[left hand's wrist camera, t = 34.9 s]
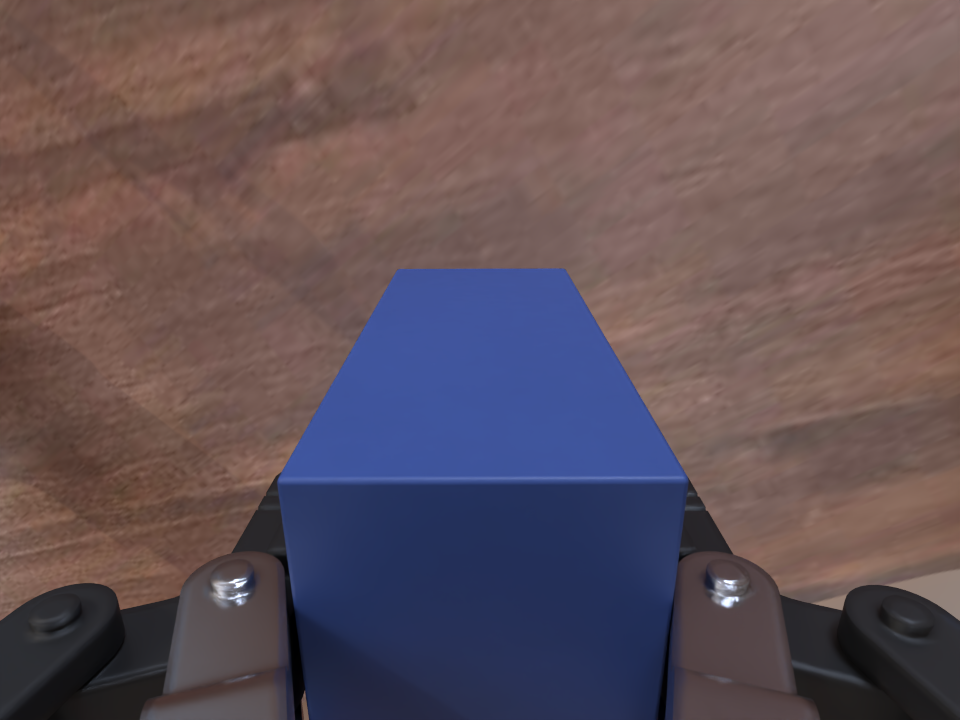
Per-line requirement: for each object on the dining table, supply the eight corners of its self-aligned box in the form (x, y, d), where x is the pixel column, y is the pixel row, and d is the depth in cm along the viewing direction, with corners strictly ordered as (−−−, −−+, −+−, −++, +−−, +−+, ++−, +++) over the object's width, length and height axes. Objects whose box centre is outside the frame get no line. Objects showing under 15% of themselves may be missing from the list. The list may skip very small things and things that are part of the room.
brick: (565, 267, 17) (691, 478, 7) (557, 453, 19) (645, 827, 9) (396, 268, 17) (273, 480, 7) (406, 453, 19) (321, 828, 9)
